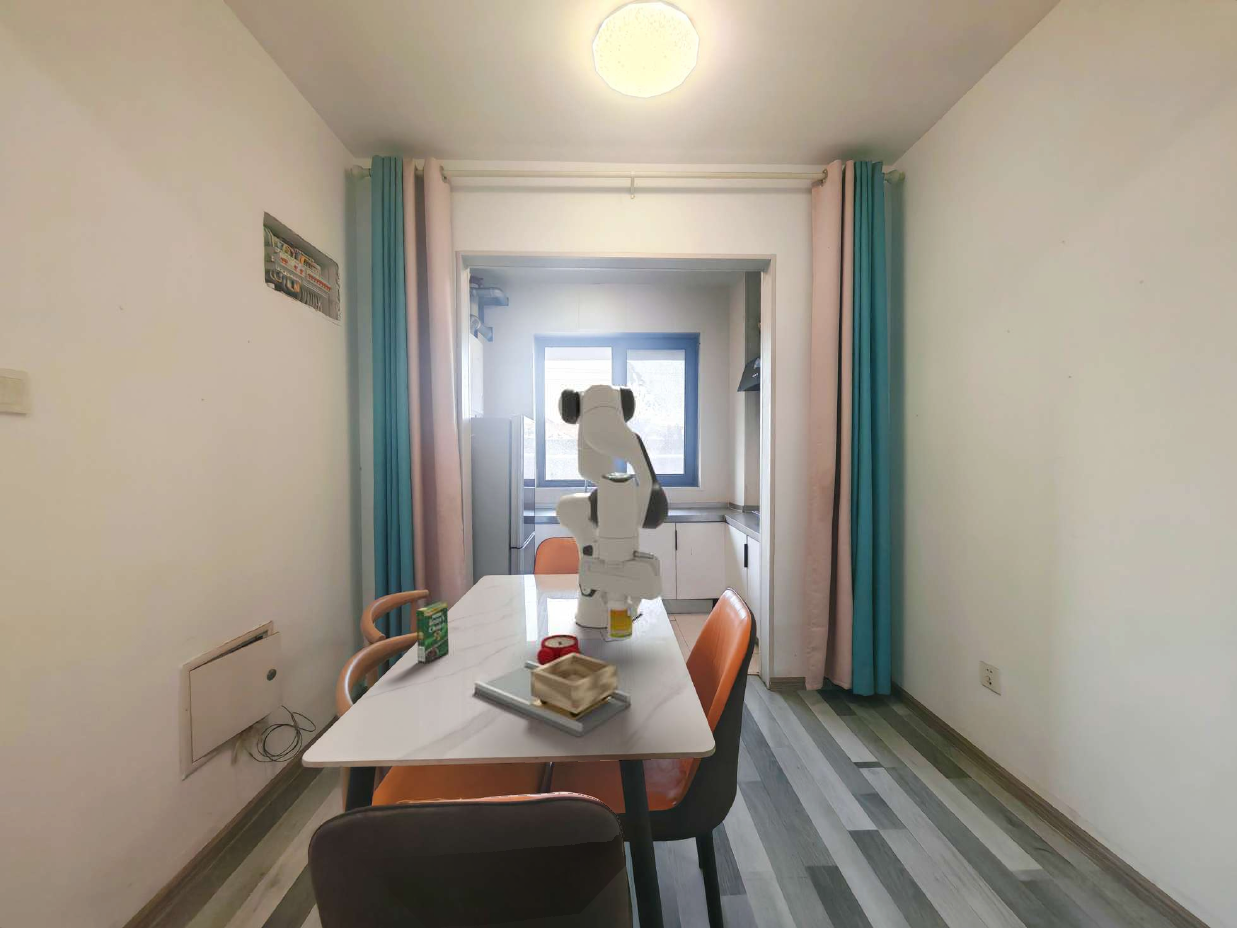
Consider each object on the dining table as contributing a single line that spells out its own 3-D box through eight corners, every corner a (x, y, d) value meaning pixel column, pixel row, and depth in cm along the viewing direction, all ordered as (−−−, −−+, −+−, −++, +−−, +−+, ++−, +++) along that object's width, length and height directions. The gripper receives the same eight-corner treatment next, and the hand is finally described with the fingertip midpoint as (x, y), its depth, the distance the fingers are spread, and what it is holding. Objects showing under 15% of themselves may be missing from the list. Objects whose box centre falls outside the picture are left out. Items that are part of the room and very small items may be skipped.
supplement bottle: (637, 637, 107) (636, 591, 107) (615, 642, 104) (615, 595, 104) (623, 630, 112) (623, 586, 112) (602, 635, 109) (601, 590, 109)
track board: (528, 668, 119) (528, 660, 119) (630, 704, 101) (630, 694, 101) (474, 691, 107) (474, 682, 107) (579, 737, 89) (579, 725, 89)
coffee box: (424, 664, 123) (424, 610, 123) (416, 662, 124) (415, 609, 124) (449, 653, 130) (448, 602, 130) (441, 651, 131) (440, 600, 131)
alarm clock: (582, 633, 133) (577, 639, 119) (582, 658, 132) (577, 668, 117) (542, 634, 133) (533, 640, 119) (542, 659, 132) (532, 669, 117)
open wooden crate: (573, 682, 108) (573, 652, 108) (617, 698, 101) (617, 665, 101) (531, 704, 99) (530, 670, 99) (576, 722, 91) (575, 686, 91)
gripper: (667, 551, 104) (668, 618, 104) (592, 542, 117) (593, 602, 117) (650, 556, 99) (651, 627, 99) (573, 546, 112) (574, 609, 112)
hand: (619, 613), depth 108 cm, fingers closed on supplement bottle, 5 cm apart
